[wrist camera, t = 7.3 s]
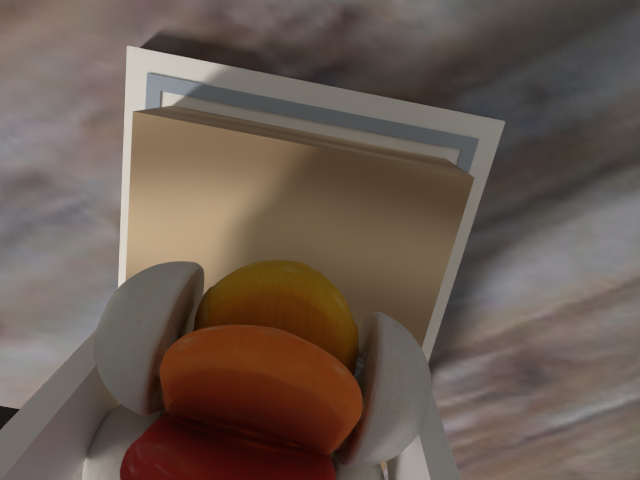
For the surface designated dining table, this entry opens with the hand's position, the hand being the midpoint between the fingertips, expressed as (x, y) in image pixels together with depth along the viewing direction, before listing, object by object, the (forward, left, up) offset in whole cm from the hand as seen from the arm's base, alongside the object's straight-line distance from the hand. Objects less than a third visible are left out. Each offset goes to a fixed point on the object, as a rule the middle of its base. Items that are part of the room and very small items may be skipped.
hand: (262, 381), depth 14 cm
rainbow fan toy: (0, 0, 0) cm, 0 cm away
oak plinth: (0, 0, -8) cm, 8 cm away
